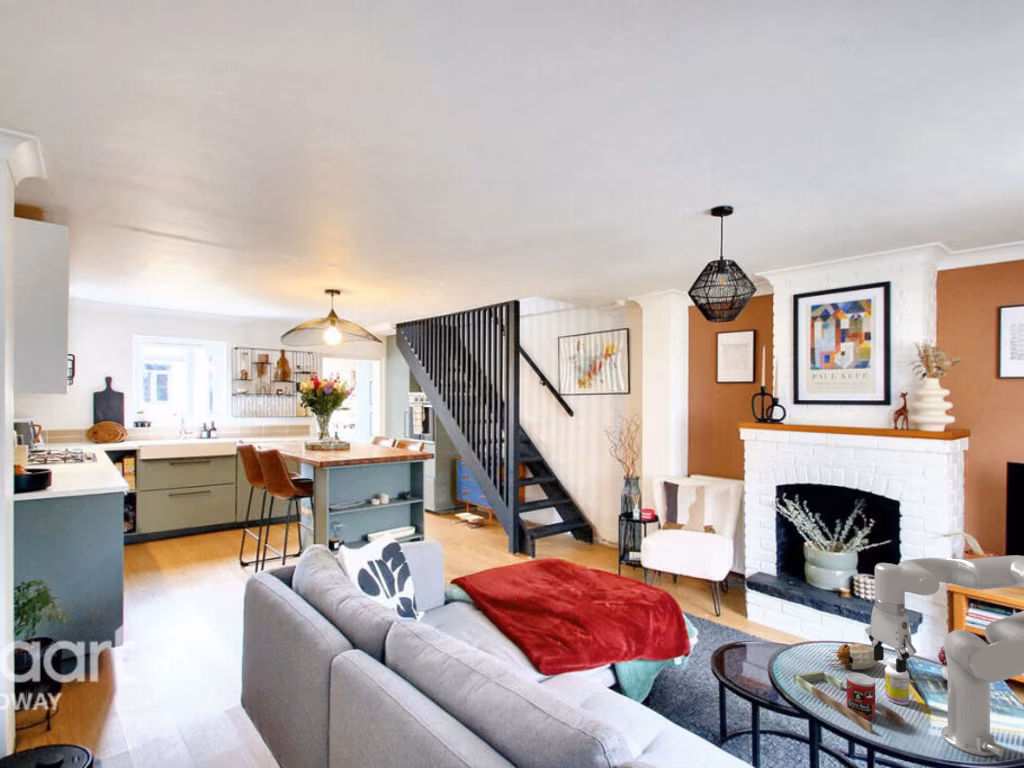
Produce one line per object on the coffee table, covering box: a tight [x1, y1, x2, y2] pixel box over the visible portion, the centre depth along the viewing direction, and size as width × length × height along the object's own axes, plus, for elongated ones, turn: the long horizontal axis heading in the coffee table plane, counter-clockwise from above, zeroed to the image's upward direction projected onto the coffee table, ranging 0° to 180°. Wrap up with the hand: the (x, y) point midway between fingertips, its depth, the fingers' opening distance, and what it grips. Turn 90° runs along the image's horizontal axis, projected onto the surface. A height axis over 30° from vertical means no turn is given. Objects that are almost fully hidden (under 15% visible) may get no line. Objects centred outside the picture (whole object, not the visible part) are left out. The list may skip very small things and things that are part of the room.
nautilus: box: [823, 641, 879, 671], centre depth 207 cm, size 8×22×15 cm
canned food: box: [846, 672, 876, 721], centre depth 175 cm, size 8×8×11 cm
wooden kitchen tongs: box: [793, 670, 905, 734], centre depth 181 cm, size 30×18×2 cm, turn 15°
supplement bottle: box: [884, 657, 910, 706], centre depth 183 cm, size 7×7×13 cm
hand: (889, 665), depth 166 cm, fingers open, 6 cm apart
